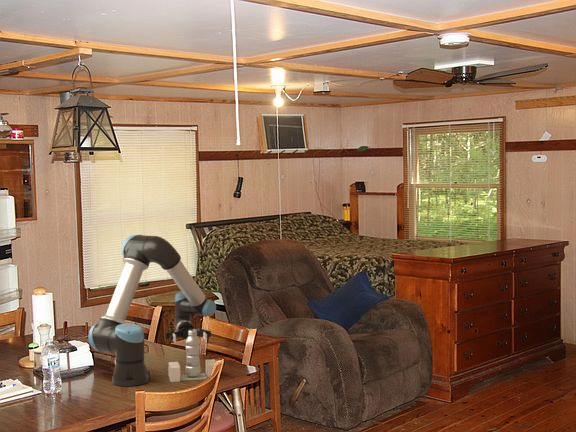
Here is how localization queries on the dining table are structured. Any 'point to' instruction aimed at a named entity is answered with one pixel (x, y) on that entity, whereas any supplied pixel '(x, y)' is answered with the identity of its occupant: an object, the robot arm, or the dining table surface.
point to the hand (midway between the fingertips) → (190, 338)
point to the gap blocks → (175, 370)
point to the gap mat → (185, 377)
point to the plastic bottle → (192, 354)
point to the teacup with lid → (37, 357)
